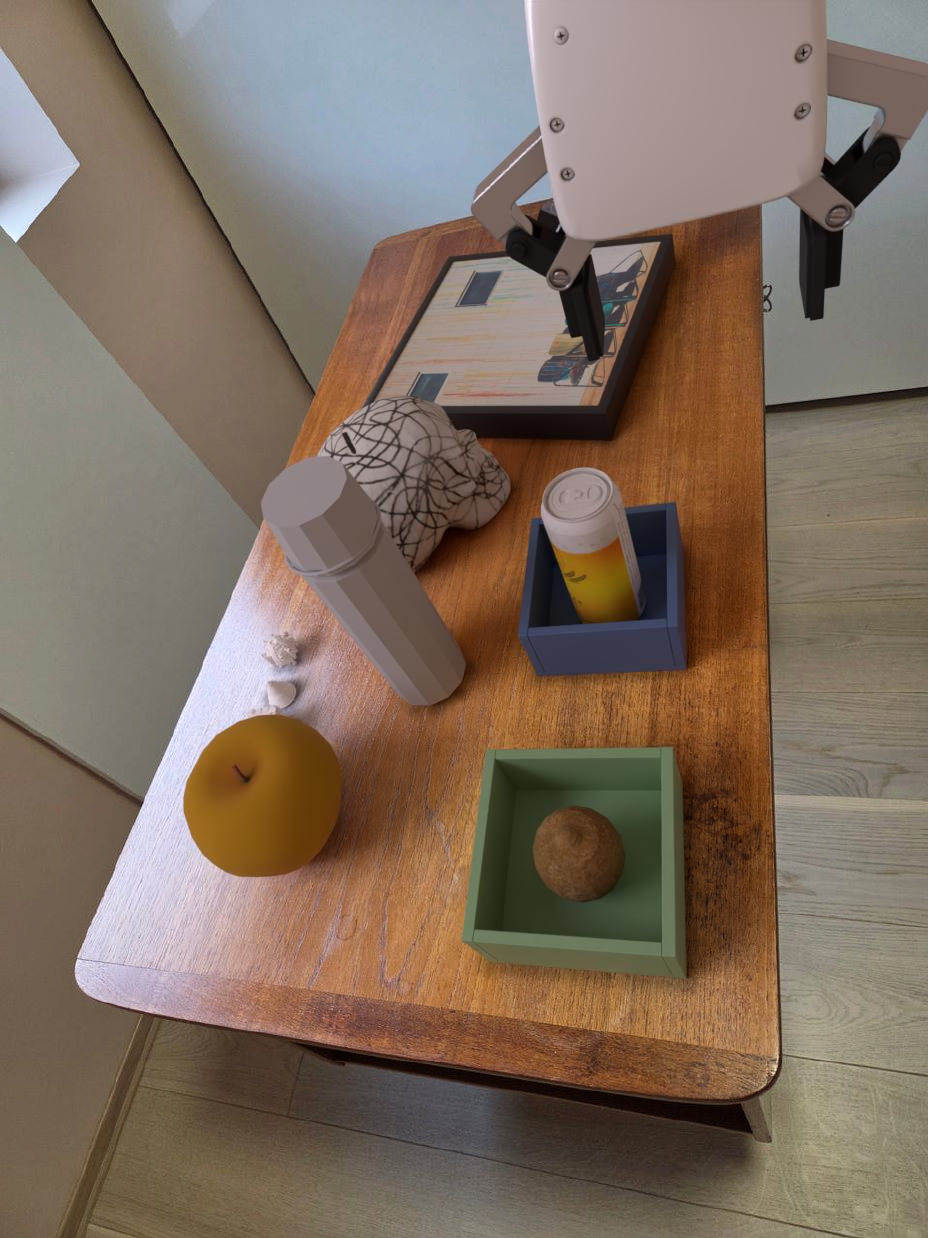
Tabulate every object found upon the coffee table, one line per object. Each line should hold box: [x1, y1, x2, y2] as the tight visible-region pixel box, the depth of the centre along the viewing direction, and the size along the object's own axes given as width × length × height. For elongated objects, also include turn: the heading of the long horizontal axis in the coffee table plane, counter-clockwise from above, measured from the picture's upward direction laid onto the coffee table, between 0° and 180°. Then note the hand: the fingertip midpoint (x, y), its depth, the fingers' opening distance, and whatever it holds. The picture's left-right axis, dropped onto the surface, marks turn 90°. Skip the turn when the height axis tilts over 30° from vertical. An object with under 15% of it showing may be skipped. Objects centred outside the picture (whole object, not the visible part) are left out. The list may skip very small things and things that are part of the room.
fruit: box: [533, 805, 625, 903], centre depth 53 cm, size 6×6×8 cm
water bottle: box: [260, 456, 467, 707], centre depth 63 cm, size 9×8×25 cm
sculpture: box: [315, 396, 512, 574], centre depth 77 cm, size 15×20×15 cm
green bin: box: [461, 746, 687, 979], centre depth 54 cm, size 14×14×7 cm
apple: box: [182, 714, 344, 878], centre depth 63 cm, size 13×13×11 cm
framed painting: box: [360, 233, 677, 442], centre depth 93 cm, size 30×4×30 cm
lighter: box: [536, 199, 560, 231], centre depth 104 cm, size 8×2×5 cm
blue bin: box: [517, 501, 688, 677], centre depth 67 cm, size 13×13×7 cm
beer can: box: [540, 466, 646, 624], centre depth 63 cm, size 6×6×15 cm
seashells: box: [246, 630, 299, 719], centre depth 75 cm, size 12×3×3 cm, turn 0°
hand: (699, 322), depth 36 cm, fingers open, 9 cm apart
